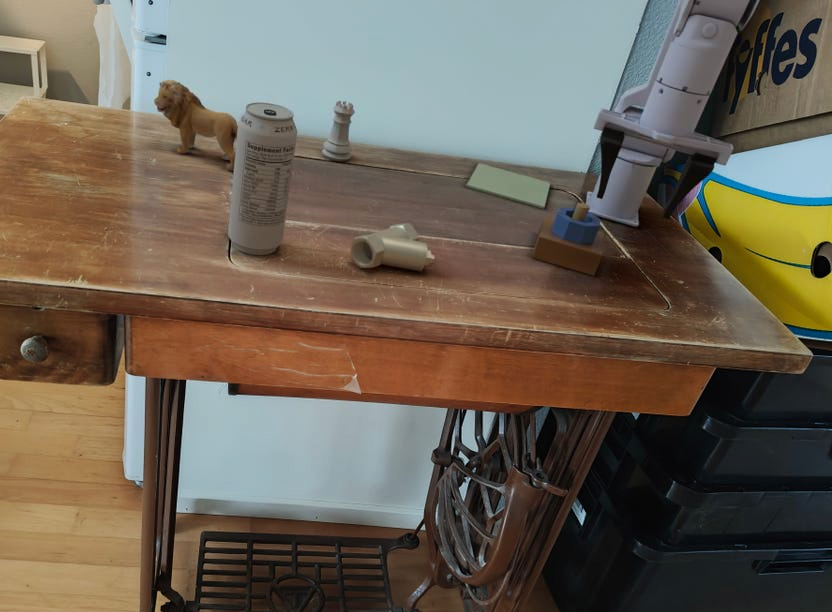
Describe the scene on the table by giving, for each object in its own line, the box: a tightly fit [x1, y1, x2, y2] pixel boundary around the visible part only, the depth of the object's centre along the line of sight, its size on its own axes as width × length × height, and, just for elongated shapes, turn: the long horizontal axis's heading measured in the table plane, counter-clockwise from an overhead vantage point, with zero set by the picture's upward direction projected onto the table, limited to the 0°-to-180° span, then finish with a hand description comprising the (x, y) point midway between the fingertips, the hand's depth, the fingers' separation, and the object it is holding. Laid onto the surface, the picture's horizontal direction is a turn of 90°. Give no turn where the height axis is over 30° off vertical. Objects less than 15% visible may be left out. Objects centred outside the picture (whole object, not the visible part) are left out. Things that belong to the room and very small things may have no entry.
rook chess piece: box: [321, 100, 355, 162], centre depth 108 cm, size 4×4×8 cm
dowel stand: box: [531, 202, 604, 277], centre depth 93 cm, size 8×8×7 cm
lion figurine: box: [153, 79, 238, 172], centre depth 98 cm, size 15×5×9 cm, turn 73°
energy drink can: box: [227, 102, 298, 256], centre depth 77 cm, size 6×6×15 cm
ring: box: [552, 206, 601, 244], centre depth 93 cm, size 5×5×2 cm
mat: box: [465, 162, 551, 210], centre depth 114 cm, size 12×12×1 cm
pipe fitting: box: [350, 222, 435, 272], centre depth 82 cm, size 8×4×7 cm
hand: (632, 205), depth 85 cm, fingers open, 7 cm apart
